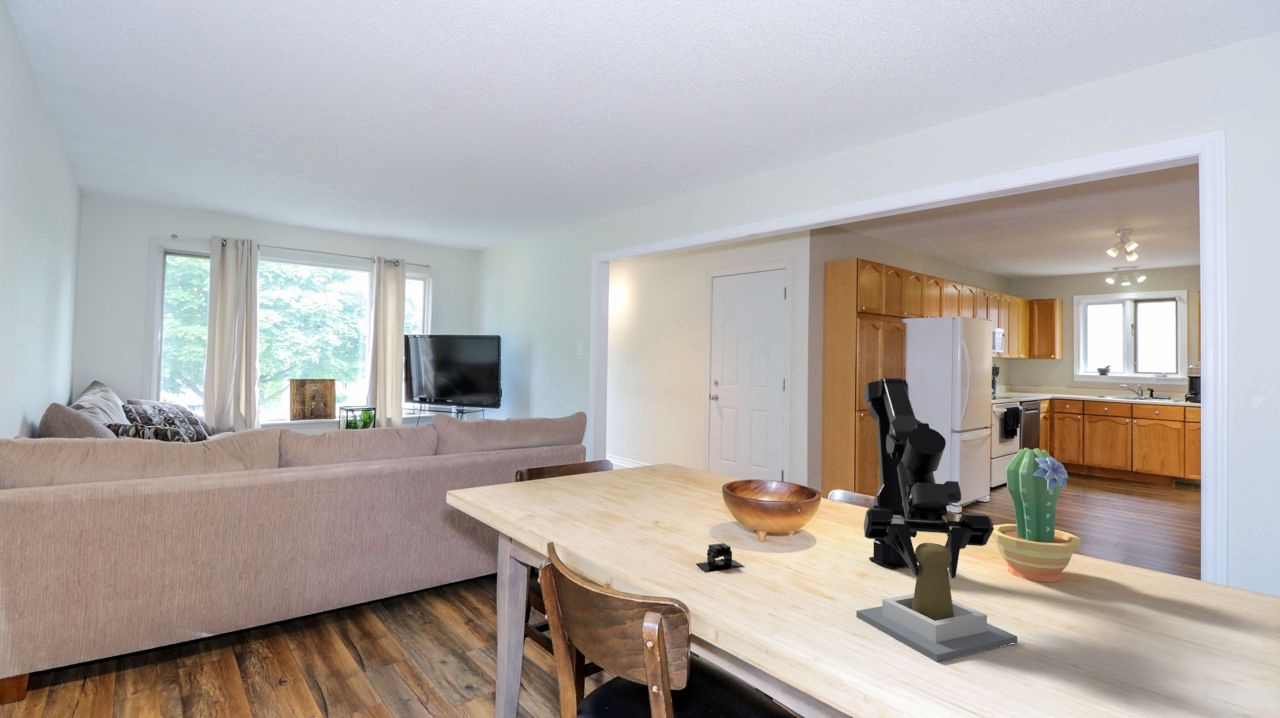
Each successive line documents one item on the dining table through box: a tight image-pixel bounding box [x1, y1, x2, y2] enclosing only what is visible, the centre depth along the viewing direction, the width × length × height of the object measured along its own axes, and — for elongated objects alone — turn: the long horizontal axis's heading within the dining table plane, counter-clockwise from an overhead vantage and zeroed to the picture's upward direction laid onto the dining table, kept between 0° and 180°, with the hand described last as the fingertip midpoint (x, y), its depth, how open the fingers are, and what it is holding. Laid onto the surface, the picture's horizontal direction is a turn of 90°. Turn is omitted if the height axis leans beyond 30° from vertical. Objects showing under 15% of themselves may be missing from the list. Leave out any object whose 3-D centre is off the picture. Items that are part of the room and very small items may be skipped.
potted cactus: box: [990, 447, 1082, 583], centre depth 120 cm, size 15×16×25 cm
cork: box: [912, 542, 954, 621], centre depth 94 cm, size 6×6×11 cm
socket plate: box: [855, 593, 1018, 663], centre depth 94 cm, size 16×16×4 cm
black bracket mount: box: [696, 542, 746, 574], centre depth 124 cm, size 12×7×5 cm, turn 112°
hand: (935, 575), depth 93 cm, fingers closed on cork, 5 cm apart
